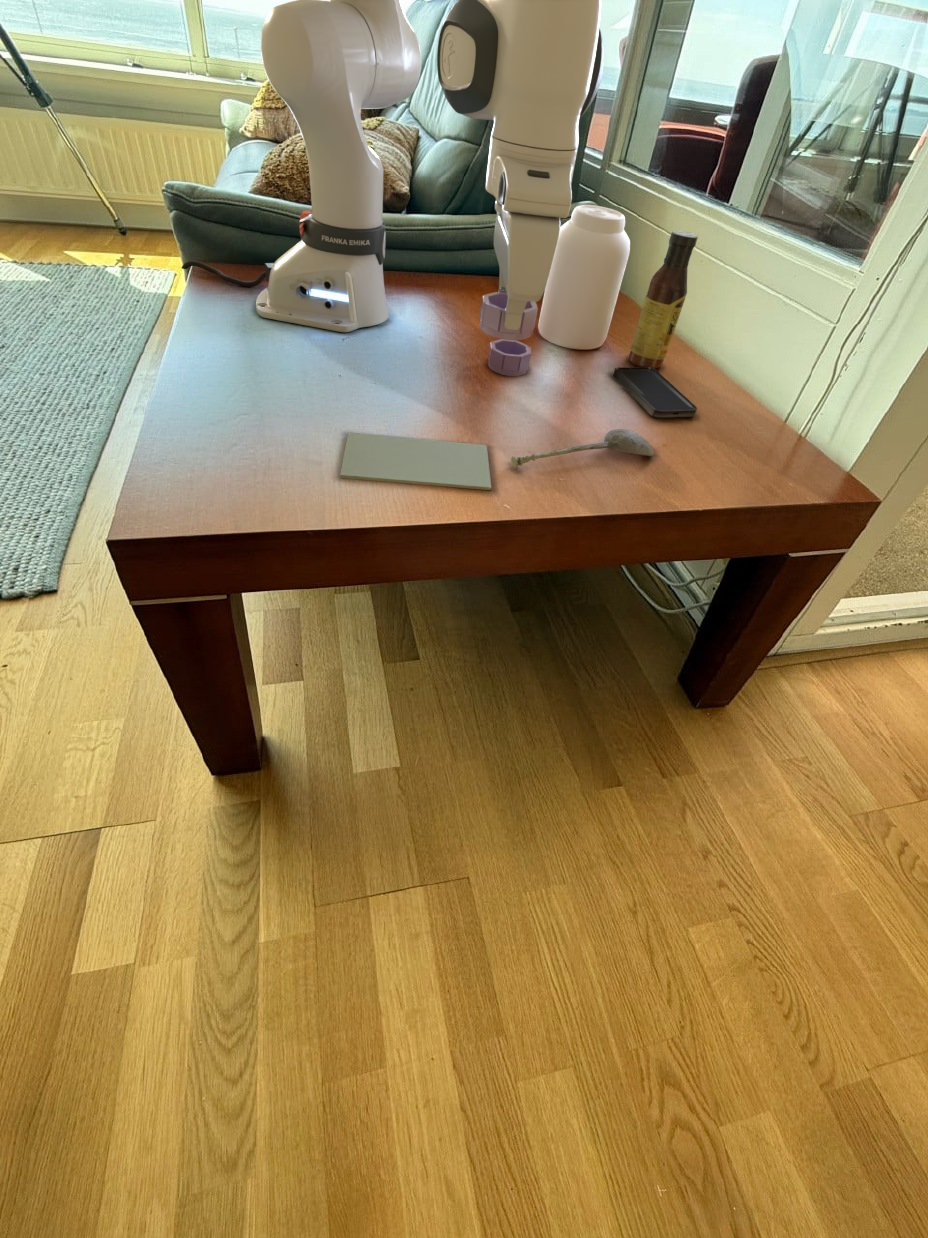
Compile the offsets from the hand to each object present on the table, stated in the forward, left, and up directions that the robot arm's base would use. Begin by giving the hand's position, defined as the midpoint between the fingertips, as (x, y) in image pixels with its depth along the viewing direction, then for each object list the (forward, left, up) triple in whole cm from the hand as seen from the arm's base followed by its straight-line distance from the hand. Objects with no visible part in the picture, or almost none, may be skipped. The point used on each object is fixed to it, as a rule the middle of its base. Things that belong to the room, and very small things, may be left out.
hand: (507, 315), depth 75 cm
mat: (-10, -9, -16) cm, 20 cm away
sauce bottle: (+29, +30, -16) cm, 45 cm away
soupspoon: (+12, -4, -16) cm, 21 cm away
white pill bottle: (+17, +38, -16) cm, 45 cm away
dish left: (+4, +22, -16) cm, 27 cm away
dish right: (0, 0, -2) cm, 2 cm away
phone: (+27, +17, -16) cm, 36 cm away
